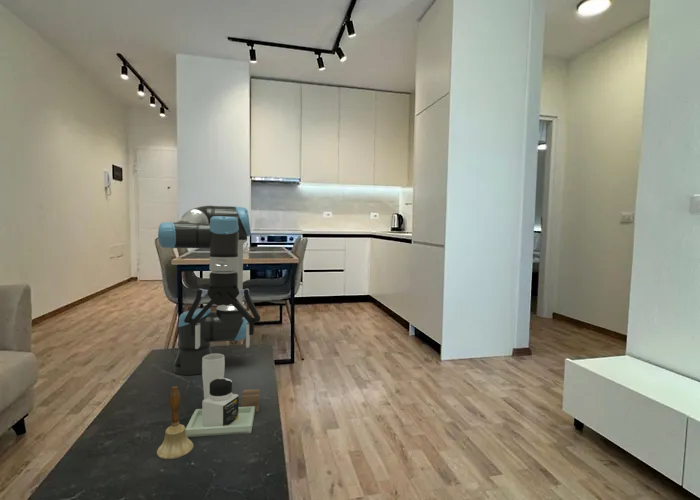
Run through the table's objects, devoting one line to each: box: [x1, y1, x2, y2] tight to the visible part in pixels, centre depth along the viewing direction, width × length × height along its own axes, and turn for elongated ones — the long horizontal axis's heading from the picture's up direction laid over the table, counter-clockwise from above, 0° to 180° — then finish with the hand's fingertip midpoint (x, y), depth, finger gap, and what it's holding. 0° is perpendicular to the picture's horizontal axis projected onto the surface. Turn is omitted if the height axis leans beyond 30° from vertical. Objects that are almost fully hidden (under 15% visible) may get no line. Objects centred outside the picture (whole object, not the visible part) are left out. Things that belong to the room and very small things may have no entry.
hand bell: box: [156, 385, 194, 460], centre depth 94 cm, size 8×8×16 cm
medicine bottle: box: [201, 377, 240, 427], centre depth 107 cm, size 7×7×12 cm
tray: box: [185, 406, 256, 438], centre depth 107 cm, size 12×17×2 cm
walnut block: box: [240, 388, 261, 413], centre depth 117 cm, size 5×5×5 cm
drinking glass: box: [201, 353, 226, 400], centre depth 120 cm, size 7×7×15 cm
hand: (223, 346), depth 107 cm, fingers open, 13 cm apart
